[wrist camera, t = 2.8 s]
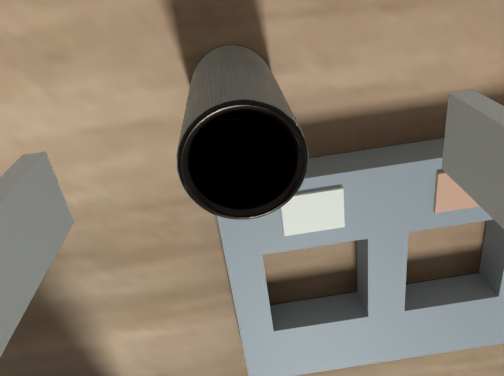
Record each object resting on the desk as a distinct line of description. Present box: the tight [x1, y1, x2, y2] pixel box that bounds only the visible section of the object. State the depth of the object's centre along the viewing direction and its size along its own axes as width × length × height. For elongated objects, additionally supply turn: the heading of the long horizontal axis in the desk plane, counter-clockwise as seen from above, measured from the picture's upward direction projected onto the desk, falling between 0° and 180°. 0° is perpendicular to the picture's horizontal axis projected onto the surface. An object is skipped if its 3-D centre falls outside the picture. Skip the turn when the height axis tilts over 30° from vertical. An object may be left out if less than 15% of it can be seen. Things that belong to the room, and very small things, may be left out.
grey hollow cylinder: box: [177, 45, 309, 220], centre depth 19 cm, size 4×4×10 cm
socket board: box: [217, 138, 504, 376], centre depth 29 cm, size 20×16×3 cm
